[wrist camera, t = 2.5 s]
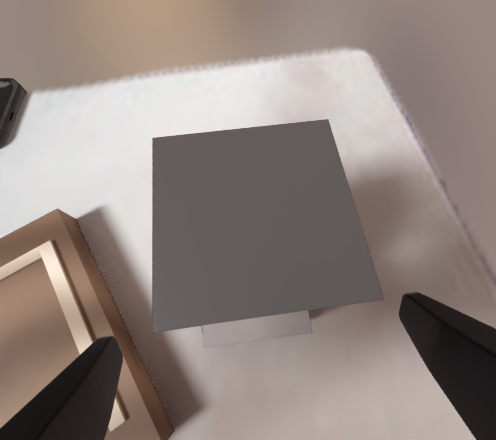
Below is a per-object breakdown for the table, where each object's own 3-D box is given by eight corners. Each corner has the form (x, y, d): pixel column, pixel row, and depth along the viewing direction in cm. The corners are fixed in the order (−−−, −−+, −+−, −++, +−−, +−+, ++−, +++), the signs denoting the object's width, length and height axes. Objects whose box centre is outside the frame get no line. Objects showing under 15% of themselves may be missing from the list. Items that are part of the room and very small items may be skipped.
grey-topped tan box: (304, 329, 17) (451, 360, 5) (208, 343, 17) (99, 414, 4) (285, 230, 19) (348, 82, 7) (201, 240, 19) (119, 105, 7)
